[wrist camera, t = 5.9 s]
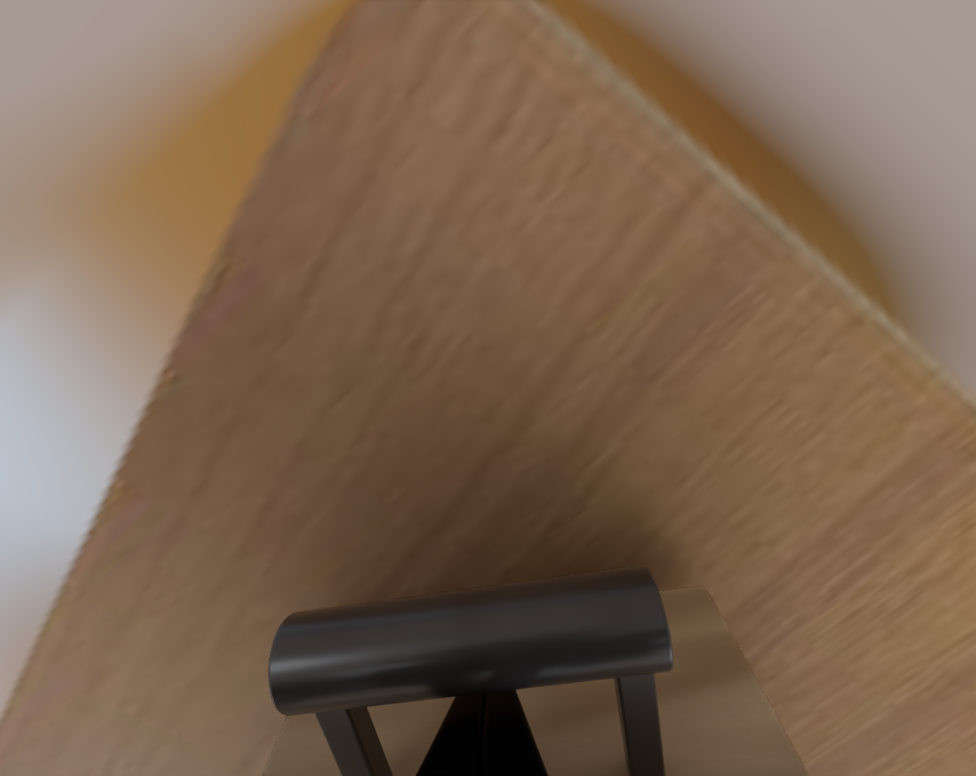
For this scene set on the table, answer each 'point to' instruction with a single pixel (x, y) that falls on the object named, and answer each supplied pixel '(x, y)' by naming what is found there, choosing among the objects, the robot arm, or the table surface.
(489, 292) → the table surface
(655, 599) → the drawer
